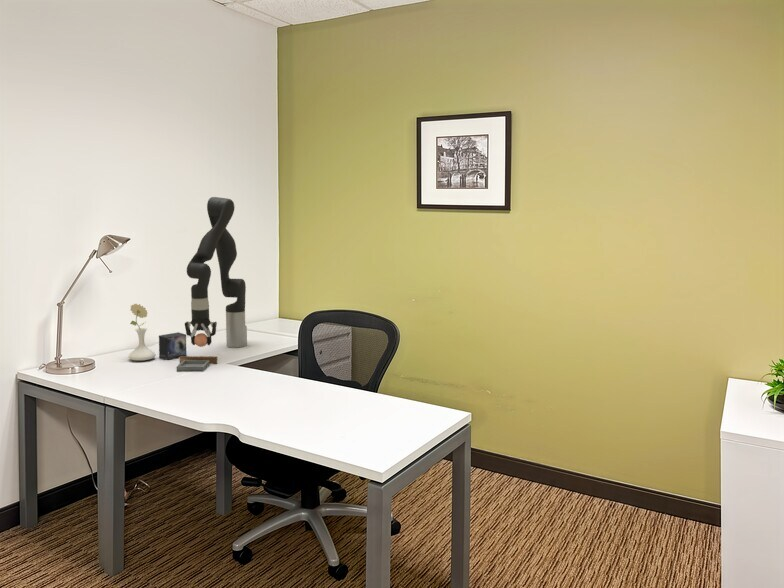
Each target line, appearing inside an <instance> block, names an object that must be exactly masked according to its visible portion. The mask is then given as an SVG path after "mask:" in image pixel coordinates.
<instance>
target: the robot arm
mask: <svg viewBox="0 0 784 588" xmlns="http://www.w3.org/2000/svg"><path fill="white" fill-rule="evenodd" d="M206 208H207V209H206V210H207V214H208V215H207V216H208V218H209V222H210V225H211V228H210V230H208V231H207V232H206V233H205V235H203V237H202V238H201V240H200V243H199V245H198V248H197V251H196V252H195V254H194V255H193V256H192V258H191V260H190V261H189V263H188V264H187V266H186V275H187V276H188V277H189V278H190V279H195V280H197V283H195V284H193V285H192V286H191V288H190V291H191V292H190V293H191V295H190V296H191V298H190V299H191V301H190V306H191V307H190V308H191V311H190V312H191V313H190V314H191V321H185V322H184V328H185V333H186V336H189V337H190V342H191V344H192V346H195V345H196V344H195V342H194V339H195V336H196V335H197V334H196V333H197V331H199V332H200V331H203V332H204V334H205V335H207V344H206V345H207V346H210V345H211V344H212V337H214V336H215V335H216V332H217V326H218V325H217V324H218V322H217V321H211V319H210V303H209V290H208V289H209V286H210V285H209V284H210V279H211V276H212V269H211V267H210V265H209V264H207V263H206V262H209V261H211V260H212V259H213V257H214V254H215V252H216V256H217V262H218V265H219V272H220V273H219V275H220V283H221V284H220V285H221V286H220V287H221V293H222V295H223V297H225V298H236V301H235V302H233V303H229V304H227V305H225V333H226V347H228V348H242V347H243V348H244V347H245V346H246V345H248V331H247V330H248V327H247V325H246V293H247V292H246V291H247V290H246V288H247V287H246V281H245V279H244V278H230V270H231V268H232V266H233V265H234V262H235V261H236V258H237V257H238V251H237V245H236V241H235V239H234V237H233V235H232V234H231V233H230V232H229V230H228V229H227V226H228V225H229V223H230V221H231V219H232V217H233V215H234V213H235V203H234V201H233V200H232V199H230V198H227V197H217V196H212V197H210V198H209V199H208V200H207V203H206ZM191 325H192V327H193V329H192V331H191V328H190V327H191ZM209 326H211V330H210V327H209Z"/></svg>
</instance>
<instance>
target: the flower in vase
mask: <svg viewBox="0 0 784 588" xmlns="http://www.w3.org/2000/svg"><path fill="white" fill-rule="evenodd" d="M129 311H131V312H132V314H133V315H135V321H134V320H131V322H130V324H129V325H132V326H137V327H138V328H135V331H136V333H137V336H138V346H137V347H136V348H134V349H133V350H132V351H131V352H130V353H129V354H128V359H130V360H132V361H136V362H138V361H148V360H152V359H154V358H155V357H157V354H156V353H155V352H154V351H153V350H152V349H151V348H149V347H148V346H146V343H145V336H146V335H145V334H146V332H147V330H148V328H146V327H143V328H142V327H140V326H143V325H145V322H143V323H141V324H140V325H139V324H138V321H137V320H138V317H139V318H141V319H143V318H146V317H148V310H146V307H144V306H143V305H141V304H138V303H133V304H131V305H130V310H129Z"/></svg>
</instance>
